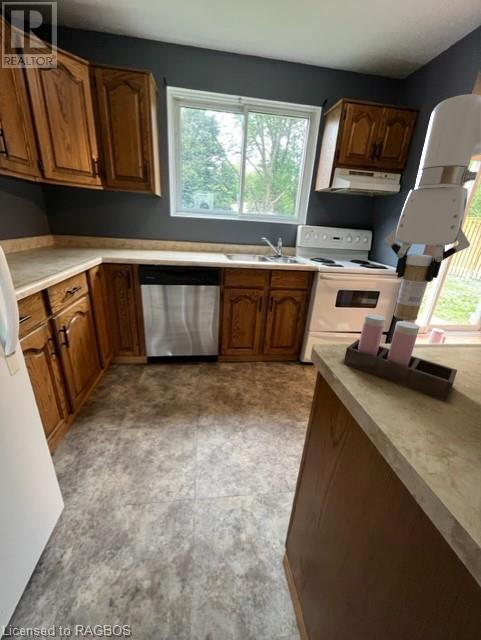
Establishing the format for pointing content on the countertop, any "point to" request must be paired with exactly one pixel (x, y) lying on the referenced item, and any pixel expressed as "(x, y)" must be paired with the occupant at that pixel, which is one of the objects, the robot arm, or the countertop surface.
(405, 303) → the sprinkles bottle
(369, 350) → the pink bottle
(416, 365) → the spice rack
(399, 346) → the pink bottle
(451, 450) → the countertop surface
